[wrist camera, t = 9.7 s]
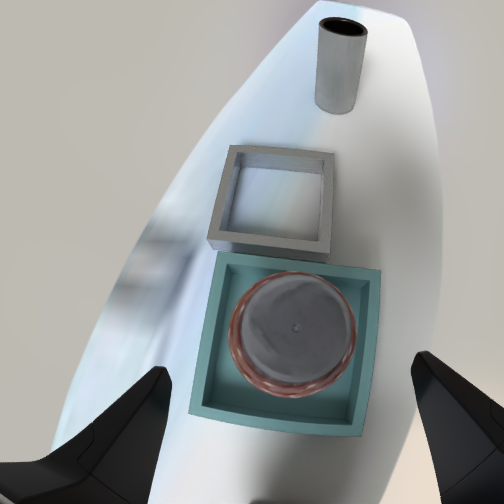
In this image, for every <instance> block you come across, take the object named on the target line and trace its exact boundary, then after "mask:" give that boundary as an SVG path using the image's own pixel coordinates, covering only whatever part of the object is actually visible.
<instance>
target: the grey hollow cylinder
mask: <svg viewBox="0 0 504 504" xmlns="http://www.w3.org/2000/svg"><path fill="white" fill-rule="evenodd" d="M367 34H368V31H367V29H366V28H365V27H364V26H363V25H362V24H360V23H358V22H356V21H353V20H350V19H346V18H340V17H329V18H324V19H322V20H321V21H320V22H319V34H318V54H317V71H316V85H315V102H316V104H317V105H318V106H319V107H320V108H321V109H322V110H324V111H326V112H329V113H333V114H344V113H347V112H349V111H351V110H352V109H353V106H354V103H355V98H356V93H357V88H358V83H359V78H360V73H361V68H362V63H363V57H364V52H365V46H366V40H367Z"/></svg>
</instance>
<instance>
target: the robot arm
mask: <svg viewBox="0 0 504 504" xmlns="http://www.w3.org/2000/svg"><path fill="white" fill-rule="evenodd" d="M411 376H412V381H413V385H414V390H415V395H416V401H417V405H418V409H419V413H420V416H421V419H422V423H423V426H424V430H425V433H426V437H427V441H428V444H429V448H430V452H431V456H432V460H433V464H434V469H435V473H436V478H437V482H438V487H439V492H440V496H441V497H440V498H441V503H442V504H504V408H503V407H502V406H500V405H499V404H498V403H496V402H495V401H494V400H492V399H490V397H488V396H487V395H486V394H485V393H483V392H482V391H480V390H479V389H478V388H477V387H475V386H474V385H473V384H471V383H470V382H469V381H467V380H466V379H465V378H463V377H462V376H461V375H459V374H458V373H457V372H455V371H454V370H453V369H451V368H450V367H449V366H447V365H446V364H445V363H443V362H442V361H441V360H439V359H438V358H437V357H435V356H434V355H432V354H431V353H430V352H428V351H421V352H418V353H417V354H416V355H415V358H414V361H413V364H412V366H411ZM171 391H172V381H171V378H170V376H169V373H168V371H167V369H166V368H165V367H163V366H154V367H153V368H152V369H151V370H150V371H148V372H147V373H146V374H145V375H144V376H143V377H142V378H141V379H140V380H138V381H137V382H136V383H135V384H134V385H133V386H132V387H131V388H130V389H129V390H127V391H126V392H125V393H124V394H123V395H122V396H121V397H120V398H118V399H117V400H116V401H115V402H114V403H113V404H112V405H111V406H110V407H108V408H107V409H106V410H105V411H104V412H103V413H102V414H101V415H99V416H98V417H97V418H96V419H95V420H94V421H93V423H90V424H89V425H88V426H87V427H86V428H85V429H83V430H82V431H81V432H80V433H78V434H77V435H76V436H75V437H73V438H72V439H71V440H69V441H68V442H66V443H65V444H64V445H62V446H61V447H59V448H58V449H56V450H55V451H53V452H52V453H50V454H49V455H47V456H46V457H44V458H42V459H40V460H37V461H32V462H5V463H4V462H2V463H1V462H0V504H147V503H148V499H149V494H150V490H151V486H152V481H153V477H154V473H155V469H156V465H157V461H158V456H159V452H160V448H161V444H162V440H163V437H164V433H165V429H166V425H167V420H168V413H169V405H170V398H171Z"/></svg>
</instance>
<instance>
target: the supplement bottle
mask: <svg viewBox="0 0 504 504" xmlns="http://www.w3.org/2000/svg"><path fill="white" fill-rule="evenodd" d="M228 342H229V349H230V353H231V356H232V359H233V361H234V363H235V365H236V367H237V369H238V370H239V371H240V373H241V374H242V375H243V377H244V378H245V379H246V380H247V381H248V382H249V383H251V384H252V385H253V386H255V387H256V388H258V389H259V390H261V391H263V392H265V393H268V394H271V395H274V396H278V397H285V398H300V397H305V396H309V395H312V394H316V393H318V392H320V391H322V390H324V389H326V388H327V387H329V386H330V385H332V384H333V383H334V382H335V381H337V380H338V379H339V378H340V377H341V376H342V374H343V373H344V372H345V370H346V369H347V367H348V365H349V364H350V362H351V359H352V357H353V355H354V352H355V348H356V344H357V326H356V320H355V316H354V313H353V311H352V308H351V306H350V304H349V303H348V301H347V300H346V298H345V297H344V295H343V294H342V293H341V292H340V291H339V290H338V289H337V288H336V287H335V286H334V285H333V284H331V283H330V282H328V281H326V280H325V279H323V278H322V277H319V276H317V275H314V274H311V273H306V272H301V271H286V272H279V273H275V274H272V275H270V276H267V277H265V278H263V279H261V280H260V281H258V282H256V283H255V284H254V285H252V286H251V287H250V288H249V289H248V290H247V291H246V292H245V293H244V294H243V295H242V297H241V298H240V299H239V301H238V302H237V304H236V306H235V308H234V310H233V312H232V315H231V318H230V322H229V329H228Z"/></svg>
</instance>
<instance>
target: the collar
mask: <svg viewBox="0 0 504 504" xmlns="http://www.w3.org/2000/svg"><path fill="white" fill-rule="evenodd" d="M240 167H252V168H265V169H277V170H288V171H297V172H307V173H315V174H322V185H321V203H320V218H319V231H318V242H317V241H308V240H300V239H291V238H283V237H274V236H265V235H256V234H247V233H238V232H229V231H226V230H227V225H228V220H229V216H230V211H231V206H232V202H233V197H234V193H235V188H236V183H237V179H238V175H239V170H240ZM333 181H334V154H331V153H323V152H315V151H306V150H296V149H285V148H273V147H259V146H241V145H230V147H229V151H228V154H227V158H226V162H225V166H224V170H223V173H222V177H221V181H220V185H219V189H218V193H217V197H216V201H215V205H214V209H213V214H212V218H211V222H210V226H209V231H208V235H207V241H208V242H209V244H210V245H211V247H212V249H215V250H223V251H231V252H240V253H248V254H256V255H265V256H273V257H281V258H290V259H298V260H306V261H315V262H323V263H326V261H327V259H328V257H329V254H330V246H331V230H332V210H333Z"/></svg>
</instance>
